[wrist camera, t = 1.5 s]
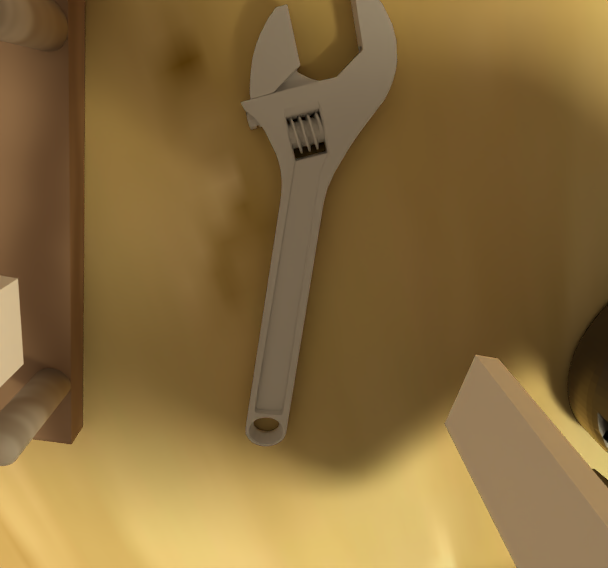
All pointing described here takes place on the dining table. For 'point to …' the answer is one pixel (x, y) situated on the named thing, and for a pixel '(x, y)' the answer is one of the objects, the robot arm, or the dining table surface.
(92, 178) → the dining table surface
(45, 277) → the rack
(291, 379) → the adjustable wrench
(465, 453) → the robot arm
